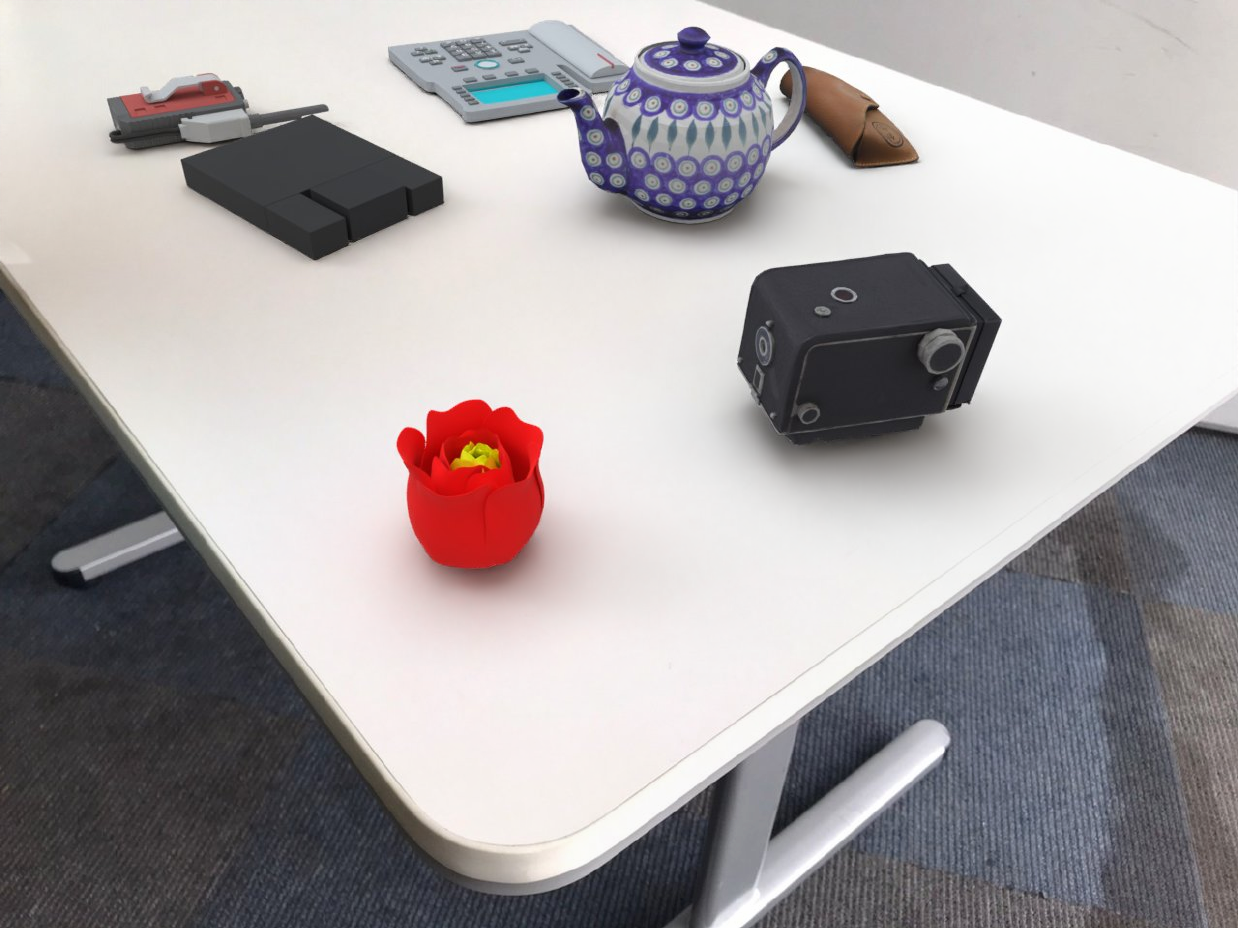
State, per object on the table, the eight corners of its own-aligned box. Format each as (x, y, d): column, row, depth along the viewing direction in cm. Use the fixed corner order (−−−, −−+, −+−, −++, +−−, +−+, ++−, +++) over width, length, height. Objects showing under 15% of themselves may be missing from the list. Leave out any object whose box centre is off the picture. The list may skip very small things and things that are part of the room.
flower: (409, 598, 56) (396, 493, 51) (407, 502, 62) (394, 398, 56) (551, 585, 57) (552, 481, 52) (536, 492, 63) (536, 389, 58)
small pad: (352, 242, 84) (348, 209, 82) (315, 221, 86) (309, 188, 84) (408, 217, 88) (405, 185, 86) (370, 198, 90) (366, 166, 88)
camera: (781, 500, 65) (990, 446, 68) (795, 359, 57) (1030, 305, 60) (721, 399, 73) (911, 354, 75) (726, 262, 65) (938, 218, 67)
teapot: (751, 143, 103) (775, -14, 93) (840, 212, 93) (876, 44, 83) (520, 182, 94) (518, 12, 84) (590, 263, 84) (597, 81, 74)
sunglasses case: (927, 157, 101) (910, 103, 96) (865, 196, 102) (845, 144, 97) (845, 88, 114) (827, 37, 109) (791, 123, 115) (771, 74, 110)
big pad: (314, 260, 82) (310, 232, 80) (186, 186, 90) (179, 159, 88) (444, 202, 90) (442, 176, 88) (316, 139, 98) (312, 114, 97)
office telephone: (570, 12, 122) (658, 70, 110) (570, 34, 124) (656, 94, 111) (385, 34, 113) (457, 101, 100) (387, 58, 114) (458, 127, 102)
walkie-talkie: (119, 164, 92) (334, 126, 101) (106, 117, 89) (327, 81, 98) (100, 127, 98) (305, 93, 106) (86, 81, 95) (298, 50, 103)
